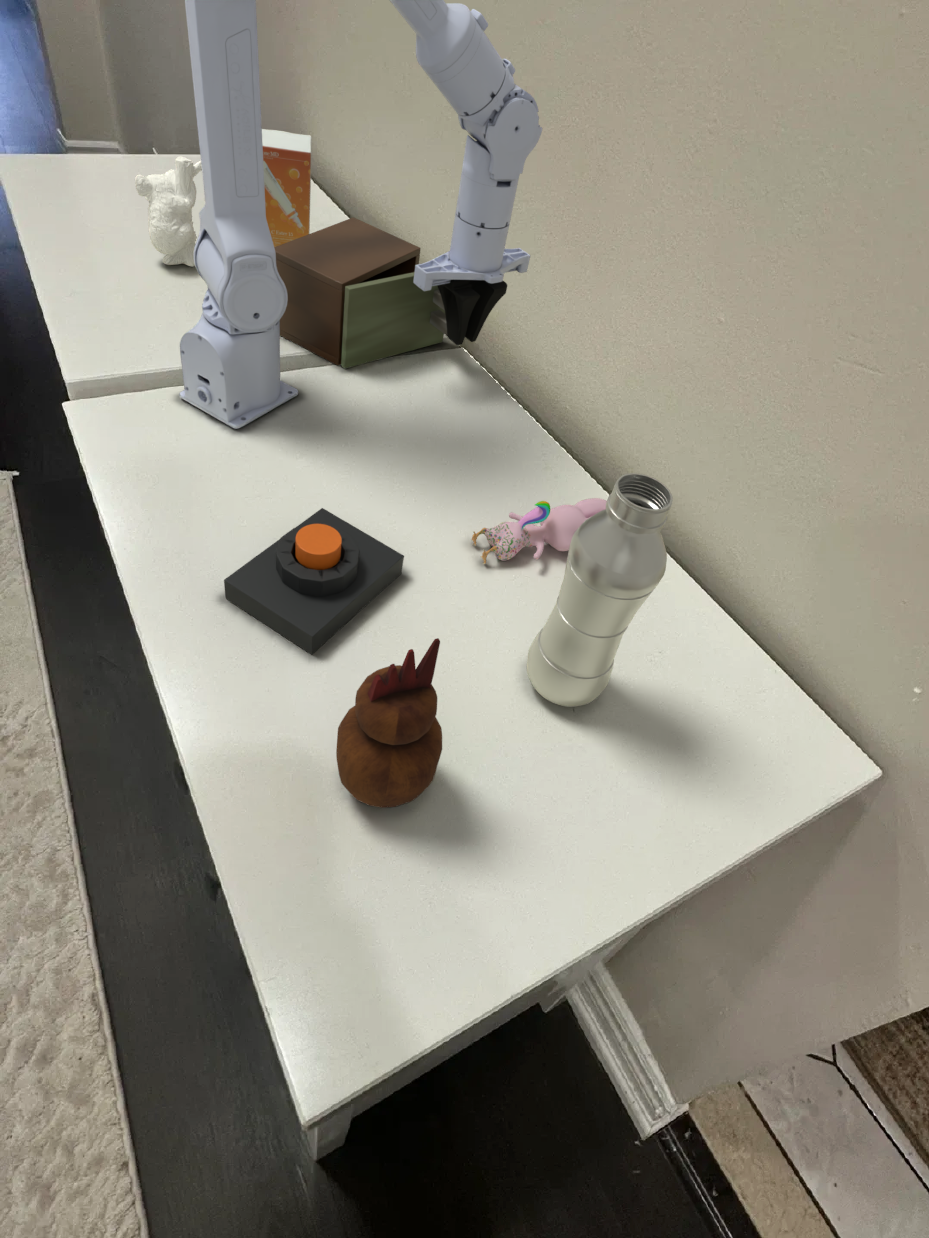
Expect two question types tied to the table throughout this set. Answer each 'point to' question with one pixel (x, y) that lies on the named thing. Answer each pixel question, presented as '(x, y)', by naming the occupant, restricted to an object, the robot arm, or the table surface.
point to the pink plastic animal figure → (539, 528)
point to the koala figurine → (172, 210)
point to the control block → (313, 584)
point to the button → (318, 546)
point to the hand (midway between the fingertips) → (461, 339)
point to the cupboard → (334, 279)
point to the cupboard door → (390, 319)
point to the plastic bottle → (601, 591)
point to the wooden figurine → (392, 734)
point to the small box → (287, 184)
